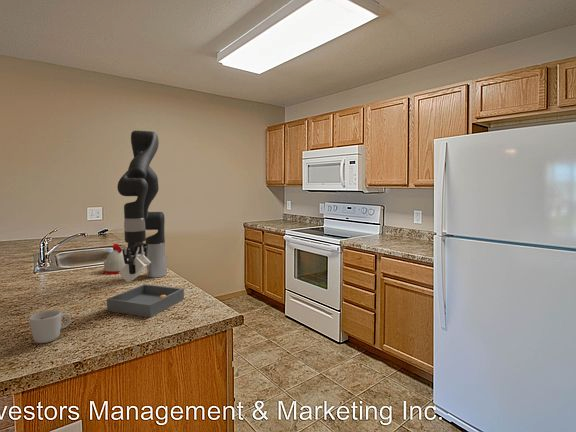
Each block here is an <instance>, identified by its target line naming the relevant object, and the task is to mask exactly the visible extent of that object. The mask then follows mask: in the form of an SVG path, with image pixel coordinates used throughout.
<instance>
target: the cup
mask: <svg viewBox="0 0 576 432" xmlns="http://www.w3.org/2000/svg"><path fill="white" fill-rule="evenodd" d="M64 317H66V318H67V319H66V323H64V324H62V321H63V318H64ZM71 318H72V316H71V315H70V314H69V313H68V312H61V311H60V310H57V309H54V310H53V309H51V310H43V311H40V312H36V313H34V314H32V315H30V316H29V318H28V321H29V326H30V329H31V330H30V331H31V334H32V338H33V341H34V343H37V344H45V343H47V344H48V343H49V342H53V341H56V340H57V339H58V338H59V336H60V333H61V330H62V329H64V328H67V327H68V326H69V325H70V324H71V321H72V319H71Z"/></svg>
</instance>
